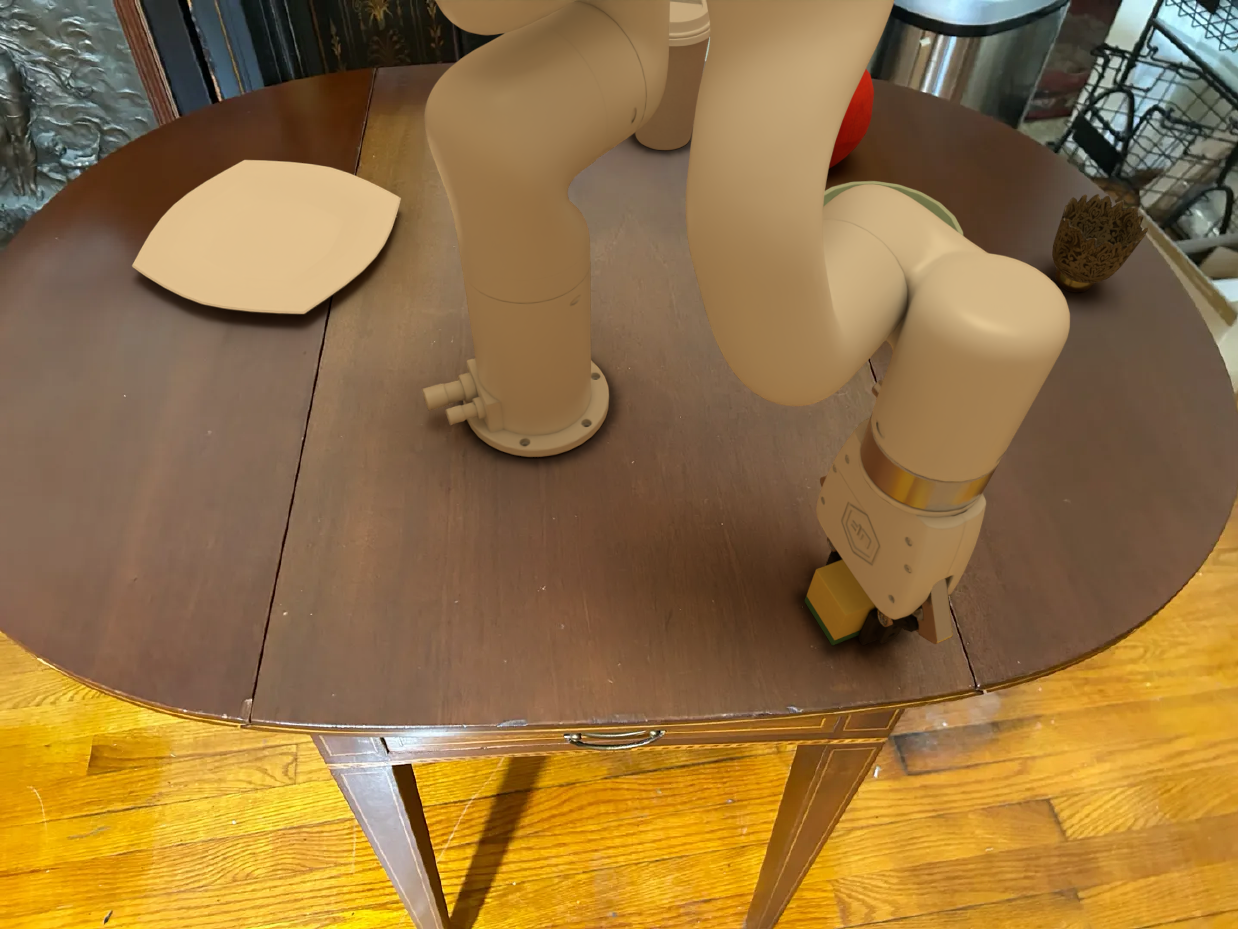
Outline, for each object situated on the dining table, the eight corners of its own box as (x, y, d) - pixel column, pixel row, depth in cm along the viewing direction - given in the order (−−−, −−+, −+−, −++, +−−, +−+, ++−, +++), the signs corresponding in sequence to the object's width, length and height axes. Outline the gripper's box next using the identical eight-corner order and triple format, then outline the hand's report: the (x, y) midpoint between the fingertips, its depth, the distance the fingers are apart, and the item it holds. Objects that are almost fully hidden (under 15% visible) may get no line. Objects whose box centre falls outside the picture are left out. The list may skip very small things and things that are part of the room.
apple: (788, 127, 107) (807, 24, 98) (869, 149, 105) (897, 45, 95) (759, 170, 102) (776, 66, 92) (844, 195, 99) (870, 90, 90)
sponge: (832, 646, 65) (845, 615, 62) (804, 601, 68) (815, 569, 64) (913, 613, 67) (930, 581, 64) (883, 570, 70) (898, 537, 66)
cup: (1114, 313, 88) (1154, 247, 82) (1036, 302, 89) (1070, 235, 83) (1105, 265, 93) (1142, 198, 86) (1030, 254, 94) (1062, 187, 87)
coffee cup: (718, 128, 107) (733, -3, 95) (678, 167, 102) (689, 34, 90) (649, 103, 110) (655, -26, 98) (606, 140, 105) (607, 8, 93)
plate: (243, 160, 101) (238, 144, 99) (432, 205, 96) (429, 189, 95) (105, 289, 87) (96, 273, 86) (317, 349, 83) (312, 333, 81)
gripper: (799, 372, 57) (758, 535, 71) (963, 588, 47) (878, 726, 62) (899, 340, 59) (840, 505, 73) (1076, 542, 49) (968, 686, 64)
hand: (858, 605), depth 67 cm, fingers open, 4 cm apart
